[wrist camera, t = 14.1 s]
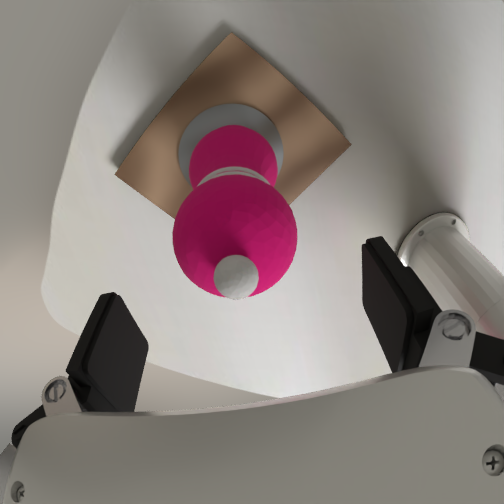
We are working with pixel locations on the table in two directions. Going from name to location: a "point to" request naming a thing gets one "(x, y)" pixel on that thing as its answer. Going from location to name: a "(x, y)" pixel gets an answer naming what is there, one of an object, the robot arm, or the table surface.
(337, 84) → the table surface
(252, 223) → the pepper mill
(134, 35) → the table surface
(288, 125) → the walnut board
